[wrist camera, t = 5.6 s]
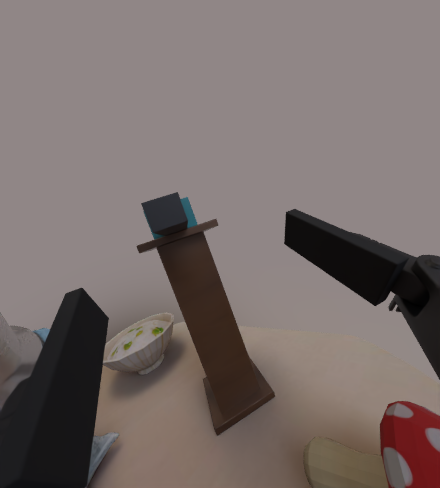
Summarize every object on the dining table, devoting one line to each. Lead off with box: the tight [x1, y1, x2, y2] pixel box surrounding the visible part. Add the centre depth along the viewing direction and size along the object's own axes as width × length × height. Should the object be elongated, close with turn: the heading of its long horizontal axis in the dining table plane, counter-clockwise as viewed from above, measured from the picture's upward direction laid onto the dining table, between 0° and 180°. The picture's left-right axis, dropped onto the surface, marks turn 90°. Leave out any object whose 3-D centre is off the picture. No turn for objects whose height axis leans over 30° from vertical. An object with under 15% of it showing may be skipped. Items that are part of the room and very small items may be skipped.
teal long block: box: [142, 192, 197, 239], centre depth 23 cm, size 18×6×4 cm, turn 12°
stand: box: [137, 219, 275, 435], centre depth 30 cm, size 11×11×29 cm
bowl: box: [103, 312, 173, 375], centre depth 47 cm, size 19×19×10 cm
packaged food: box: [85, 432, 119, 488], centre depth 25 cm, size 9×12×5 cm
